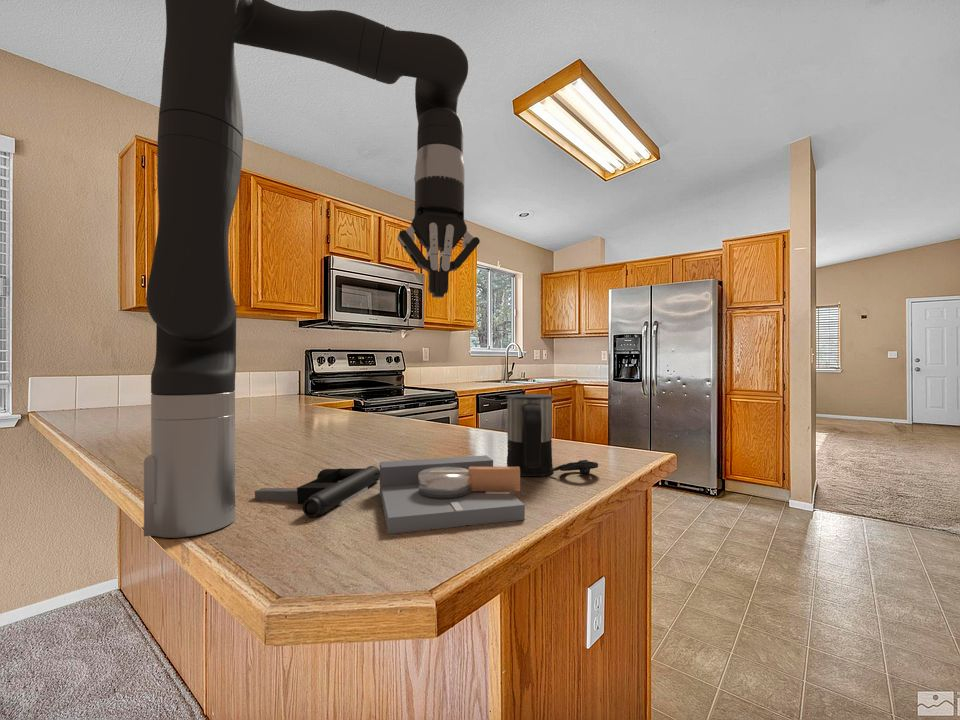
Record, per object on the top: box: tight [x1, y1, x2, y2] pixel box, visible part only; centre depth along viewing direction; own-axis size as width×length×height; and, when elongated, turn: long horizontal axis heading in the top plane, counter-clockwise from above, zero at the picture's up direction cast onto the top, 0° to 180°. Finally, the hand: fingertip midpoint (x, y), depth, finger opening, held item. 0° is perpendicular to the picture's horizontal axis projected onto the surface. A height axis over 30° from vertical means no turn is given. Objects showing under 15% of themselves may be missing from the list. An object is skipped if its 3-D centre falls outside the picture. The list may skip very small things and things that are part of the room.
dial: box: [418, 466, 521, 498], centre depth 66 cm, size 15×8×3 cm, turn 89°
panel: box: [379, 454, 526, 535], centre depth 66 cm, size 18×18×5 cm
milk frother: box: [505, 393, 599, 477], centre depth 85 cm, size 14×16×15 cm
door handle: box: [254, 465, 380, 518], centre depth 72 cm, size 3×20×16 cm
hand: (438, 296), depth 69 cm, fingers closed
